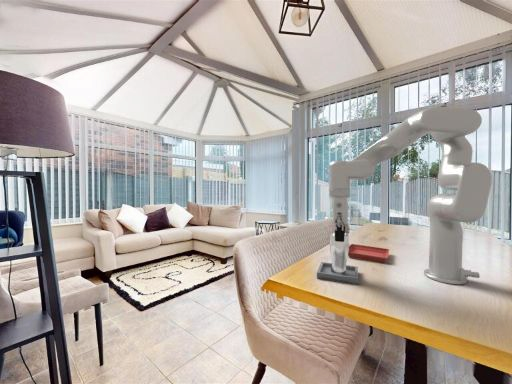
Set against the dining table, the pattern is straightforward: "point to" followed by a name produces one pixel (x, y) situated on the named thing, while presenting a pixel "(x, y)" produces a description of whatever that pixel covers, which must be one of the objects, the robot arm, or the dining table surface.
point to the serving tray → (326, 274)
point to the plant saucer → (368, 253)
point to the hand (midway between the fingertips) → (340, 238)
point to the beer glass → (339, 254)
